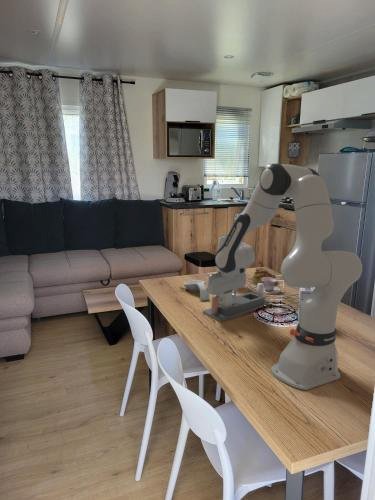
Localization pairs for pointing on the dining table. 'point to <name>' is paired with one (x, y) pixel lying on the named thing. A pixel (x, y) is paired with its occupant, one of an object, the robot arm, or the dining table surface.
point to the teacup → (270, 285)
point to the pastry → (261, 275)
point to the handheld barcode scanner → (198, 288)
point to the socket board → (237, 305)
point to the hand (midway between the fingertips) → (226, 299)
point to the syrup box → (303, 296)
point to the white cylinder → (226, 299)
